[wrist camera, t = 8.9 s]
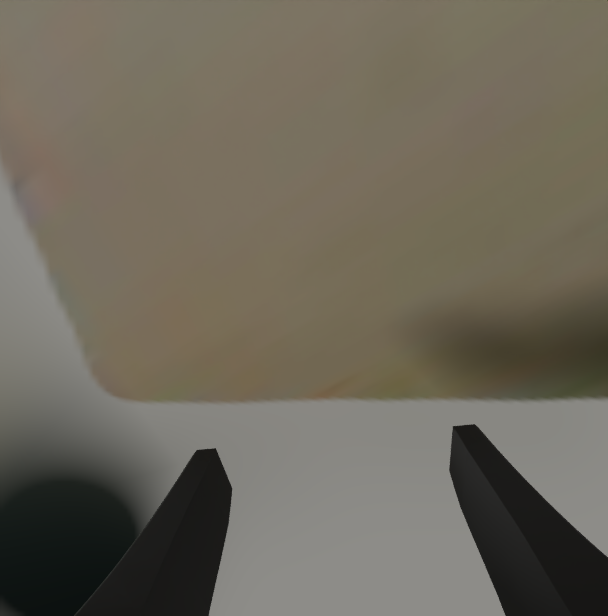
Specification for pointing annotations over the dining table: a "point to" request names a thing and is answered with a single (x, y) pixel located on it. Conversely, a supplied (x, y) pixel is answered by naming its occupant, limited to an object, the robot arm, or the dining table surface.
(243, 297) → the dining table surface
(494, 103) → the dining table surface
